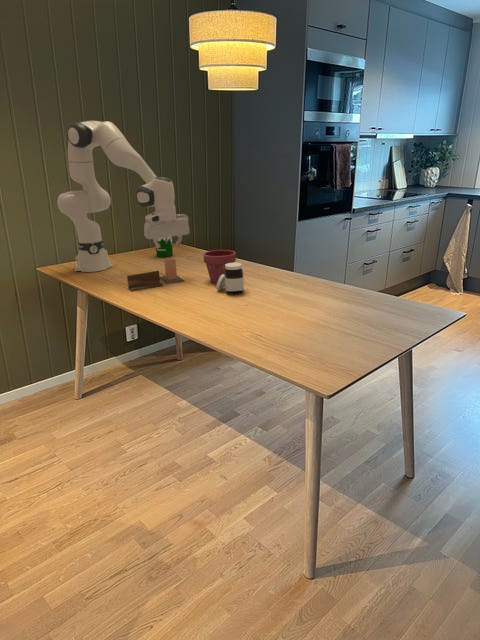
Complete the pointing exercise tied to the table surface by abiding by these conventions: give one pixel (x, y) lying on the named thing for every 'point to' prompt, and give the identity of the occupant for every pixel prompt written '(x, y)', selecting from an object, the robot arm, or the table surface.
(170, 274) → the terracotta block
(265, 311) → the table surface
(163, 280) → the charcoal mat
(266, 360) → the table surface
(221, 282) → the spread jar
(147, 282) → the brown wooden stand
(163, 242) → the milk carton
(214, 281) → the plant pot
